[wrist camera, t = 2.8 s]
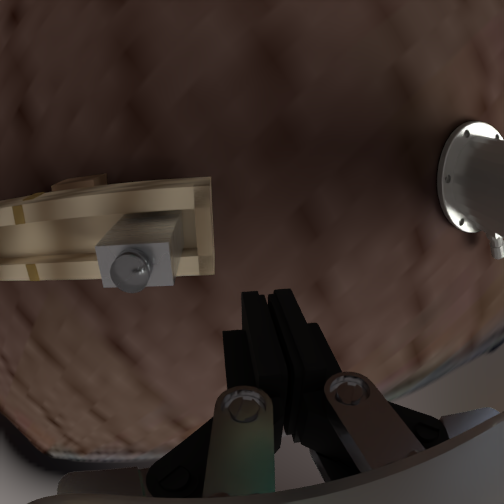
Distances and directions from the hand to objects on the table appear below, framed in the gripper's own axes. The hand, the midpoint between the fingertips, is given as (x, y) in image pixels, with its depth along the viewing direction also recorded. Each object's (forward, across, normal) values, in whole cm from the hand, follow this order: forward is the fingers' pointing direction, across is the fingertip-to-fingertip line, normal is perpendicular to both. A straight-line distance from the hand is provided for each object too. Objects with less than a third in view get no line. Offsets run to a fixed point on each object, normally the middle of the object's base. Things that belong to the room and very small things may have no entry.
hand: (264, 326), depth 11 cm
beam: (+17, +13, 0) cm, 21 cm away
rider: (+11, +6, 0) cm, 13 cm away
